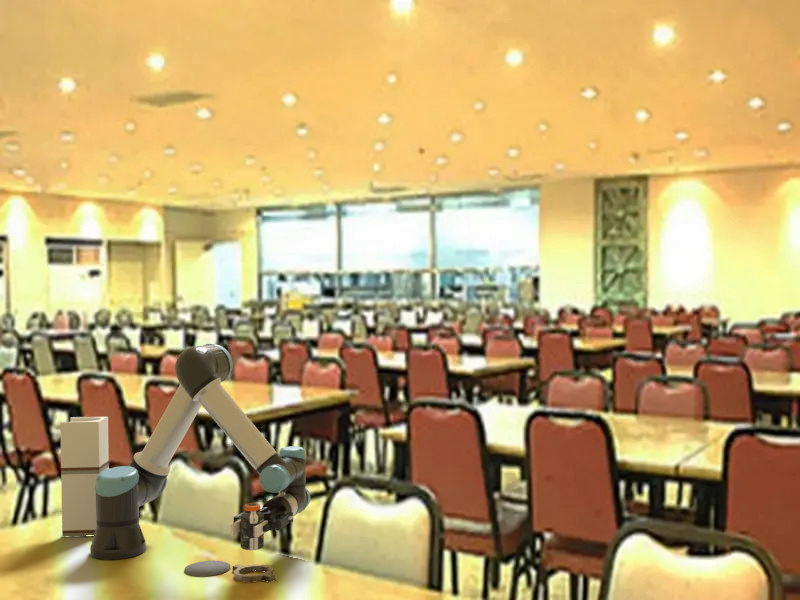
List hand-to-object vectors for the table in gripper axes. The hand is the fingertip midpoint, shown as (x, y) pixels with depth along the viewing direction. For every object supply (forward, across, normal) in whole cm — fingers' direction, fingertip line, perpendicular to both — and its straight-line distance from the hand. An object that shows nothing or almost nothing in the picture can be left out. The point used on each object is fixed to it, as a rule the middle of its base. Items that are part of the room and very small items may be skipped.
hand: (243, 531), depth 231 cm
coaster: (-7, -14, +13) cm, 21 cm away
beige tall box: (-33, -68, +15) cm, 77 cm away
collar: (-5, 0, +13) cm, 14 cm away
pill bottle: (-5, 0, +6) cm, 8 cm away
